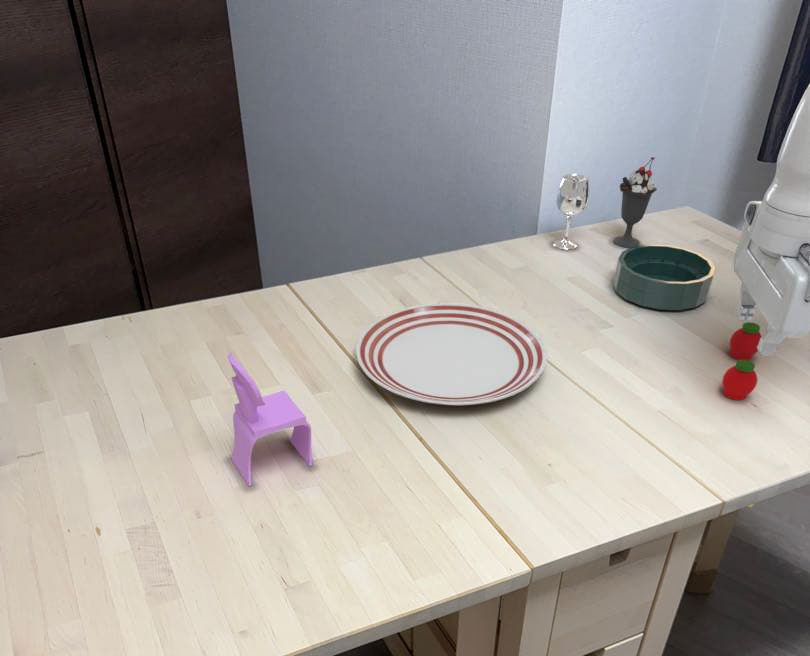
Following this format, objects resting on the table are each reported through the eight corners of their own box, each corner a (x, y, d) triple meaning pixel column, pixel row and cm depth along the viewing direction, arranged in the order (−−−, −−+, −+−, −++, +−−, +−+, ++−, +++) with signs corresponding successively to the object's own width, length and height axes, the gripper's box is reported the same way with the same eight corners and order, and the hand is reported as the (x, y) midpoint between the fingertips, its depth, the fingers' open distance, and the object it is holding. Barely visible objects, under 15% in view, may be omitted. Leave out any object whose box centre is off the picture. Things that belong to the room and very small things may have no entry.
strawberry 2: (751, 348, 114) (762, 319, 111) (760, 363, 111) (771, 333, 107) (722, 347, 114) (732, 318, 111) (730, 362, 111) (740, 332, 107)
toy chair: (319, 469, 91) (310, 360, 81) (252, 491, 88) (233, 381, 78) (292, 434, 96) (280, 328, 86) (227, 454, 93) (207, 346, 83)
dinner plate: (557, 420, 99) (561, 399, 97) (352, 419, 99) (351, 398, 97) (531, 322, 119) (533, 303, 117) (360, 321, 119) (359, 301, 116)
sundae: (648, 240, 144) (668, 156, 133) (637, 252, 140) (657, 166, 129) (615, 233, 146) (632, 150, 136) (604, 244, 142) (620, 160, 132)
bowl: (694, 273, 133) (702, 245, 130) (716, 314, 122) (726, 285, 118) (606, 270, 133) (612, 243, 130) (621, 311, 122) (627, 282, 119)
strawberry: (745, 386, 106) (757, 356, 103) (755, 403, 103) (767, 373, 99) (714, 385, 106) (725, 355, 103) (723, 402, 103) (734, 372, 100)
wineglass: (566, 253, 139) (577, 185, 130) (543, 243, 142) (552, 177, 134) (586, 245, 141) (598, 179, 133) (563, 236, 145) (574, 170, 136)
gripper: (854, 267, 81) (804, 377, 91) (792, 200, 96) (755, 301, 105) (796, 264, 81) (752, 375, 91) (743, 198, 96) (710, 299, 106)
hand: (753, 335), depth 98 cm, fingers open, 8 cm apart
